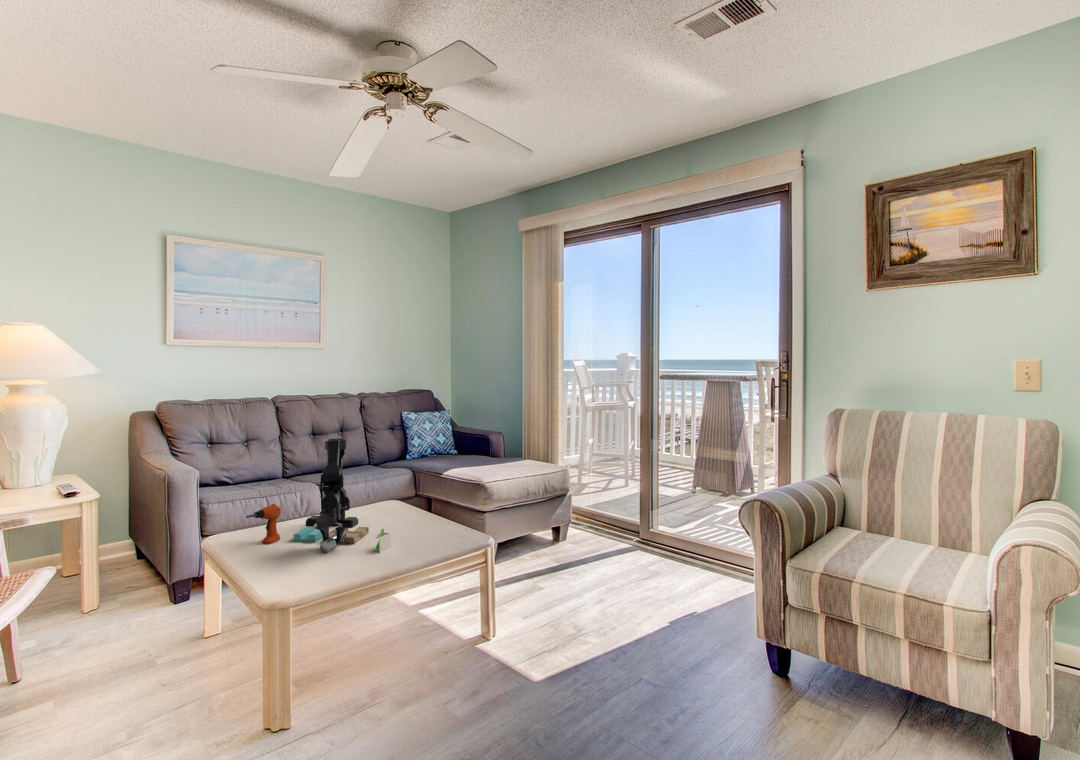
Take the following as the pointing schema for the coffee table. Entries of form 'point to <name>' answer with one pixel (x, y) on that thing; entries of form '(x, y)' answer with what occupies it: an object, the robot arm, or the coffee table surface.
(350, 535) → the wooden channel block
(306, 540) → the v block
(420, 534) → the coffee table surface
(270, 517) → the toy drill
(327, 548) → the axle
